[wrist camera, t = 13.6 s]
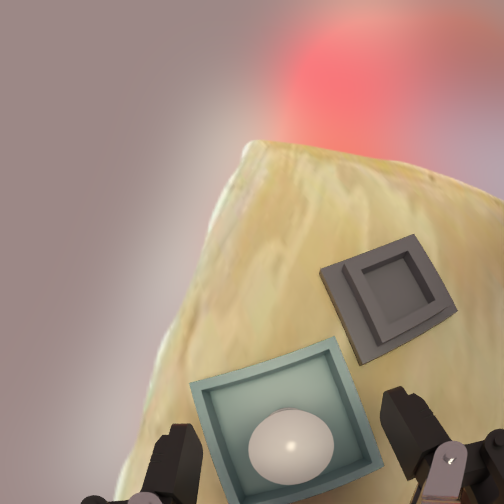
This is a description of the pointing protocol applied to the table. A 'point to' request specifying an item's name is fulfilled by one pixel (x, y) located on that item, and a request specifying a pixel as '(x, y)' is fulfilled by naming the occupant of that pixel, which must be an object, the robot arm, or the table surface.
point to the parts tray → (277, 397)
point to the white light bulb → (291, 446)
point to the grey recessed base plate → (387, 297)
